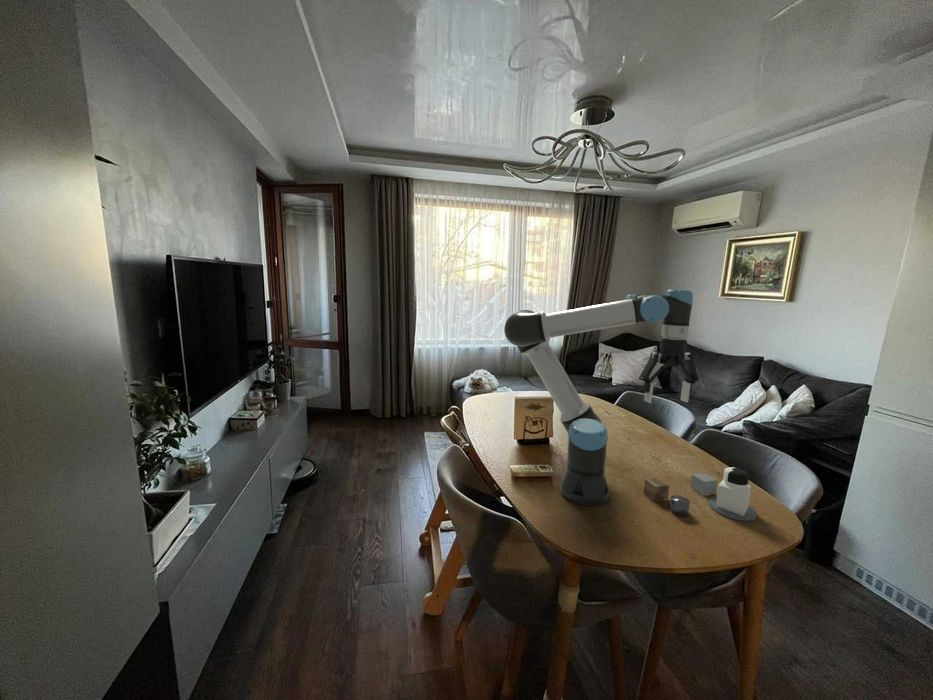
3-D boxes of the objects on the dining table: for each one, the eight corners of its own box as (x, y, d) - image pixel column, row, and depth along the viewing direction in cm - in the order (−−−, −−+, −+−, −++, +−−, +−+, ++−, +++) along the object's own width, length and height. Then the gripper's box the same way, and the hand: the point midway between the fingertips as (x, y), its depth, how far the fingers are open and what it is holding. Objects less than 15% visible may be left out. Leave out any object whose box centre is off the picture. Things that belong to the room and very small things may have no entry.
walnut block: (653, 501, 120) (655, 486, 120) (643, 493, 125) (644, 479, 124) (667, 500, 121) (669, 485, 121) (656, 491, 126) (658, 477, 125)
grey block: (702, 496, 124) (704, 481, 123) (690, 488, 129) (692, 474, 128) (715, 494, 125) (717, 480, 124) (703, 486, 130) (704, 473, 129)
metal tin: (677, 517, 112) (679, 505, 111) (665, 508, 117) (666, 496, 116) (692, 515, 113) (693, 503, 112) (679, 506, 118) (681, 494, 117)
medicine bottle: (748, 507, 116) (753, 470, 114) (743, 516, 111) (749, 478, 109) (721, 498, 121) (725, 462, 119) (715, 506, 116) (720, 469, 114)
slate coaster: (732, 523, 109) (733, 520, 109) (699, 500, 121) (699, 498, 121) (766, 518, 112) (767, 516, 112) (731, 497, 123) (731, 494, 123)
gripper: (646, 339, 117) (638, 405, 120) (717, 340, 121) (707, 404, 125) (632, 336, 124) (625, 398, 128) (699, 337, 129) (690, 397, 132)
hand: (666, 401), depth 126 cm, fingers open, 13 cm apart
